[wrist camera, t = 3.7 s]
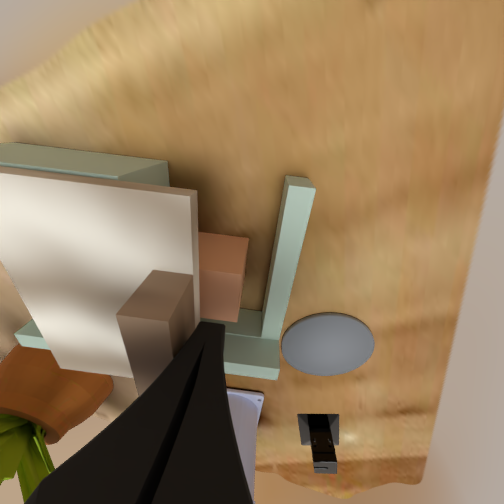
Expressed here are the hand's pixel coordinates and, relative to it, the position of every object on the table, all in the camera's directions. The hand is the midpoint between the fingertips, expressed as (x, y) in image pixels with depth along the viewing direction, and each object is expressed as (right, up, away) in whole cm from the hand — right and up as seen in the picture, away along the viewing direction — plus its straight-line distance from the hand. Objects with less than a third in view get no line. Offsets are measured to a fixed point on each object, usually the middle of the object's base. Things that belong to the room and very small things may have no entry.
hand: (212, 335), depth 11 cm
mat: (+10, -5, +11) cm, 16 cm away
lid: (-6, +2, +2) cm, 7 cm away
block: (0, +4, +7) cm, 8 cm away
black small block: (+12, -21, +21) cm, 32 cm away
